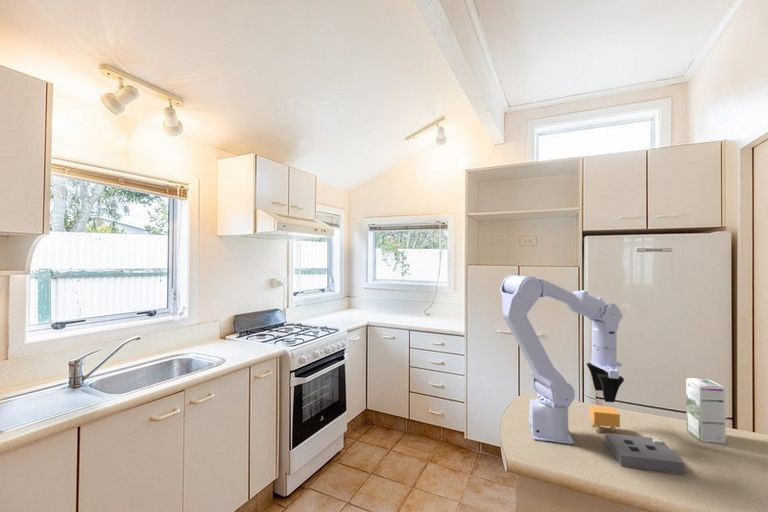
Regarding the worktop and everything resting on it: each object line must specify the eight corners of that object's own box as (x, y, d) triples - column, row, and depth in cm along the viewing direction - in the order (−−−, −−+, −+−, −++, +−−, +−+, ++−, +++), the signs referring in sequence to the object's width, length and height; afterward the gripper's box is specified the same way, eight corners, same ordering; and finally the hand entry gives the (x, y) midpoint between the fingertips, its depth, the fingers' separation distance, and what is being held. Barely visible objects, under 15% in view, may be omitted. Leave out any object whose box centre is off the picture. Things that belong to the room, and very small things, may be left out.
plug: (594, 432, 94) (594, 412, 94) (589, 425, 98) (589, 405, 98) (619, 435, 92) (619, 414, 92) (613, 427, 96) (613, 407, 96)
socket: (621, 466, 79) (621, 452, 79) (605, 442, 89) (605, 430, 89) (683, 474, 76) (683, 460, 76) (660, 448, 86) (660, 436, 86)
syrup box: (727, 444, 87) (727, 386, 87) (699, 441, 89) (699, 385, 88) (710, 432, 93) (710, 378, 93) (685, 430, 94) (685, 377, 94)
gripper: (632, 354, 87) (632, 408, 87) (610, 340, 101) (610, 386, 101) (600, 352, 88) (600, 406, 89) (583, 338, 102) (583, 384, 103)
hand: (604, 395), depth 95 cm, fingers open, 7 cm apart
